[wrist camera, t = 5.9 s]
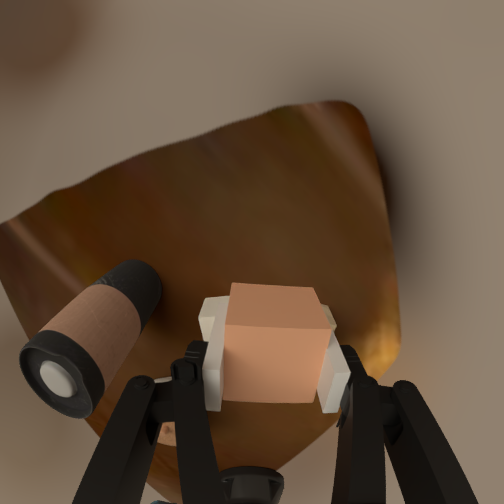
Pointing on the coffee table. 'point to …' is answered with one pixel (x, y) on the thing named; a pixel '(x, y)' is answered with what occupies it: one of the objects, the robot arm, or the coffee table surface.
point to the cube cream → (209, 314)
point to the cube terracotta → (273, 344)
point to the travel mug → (90, 339)
